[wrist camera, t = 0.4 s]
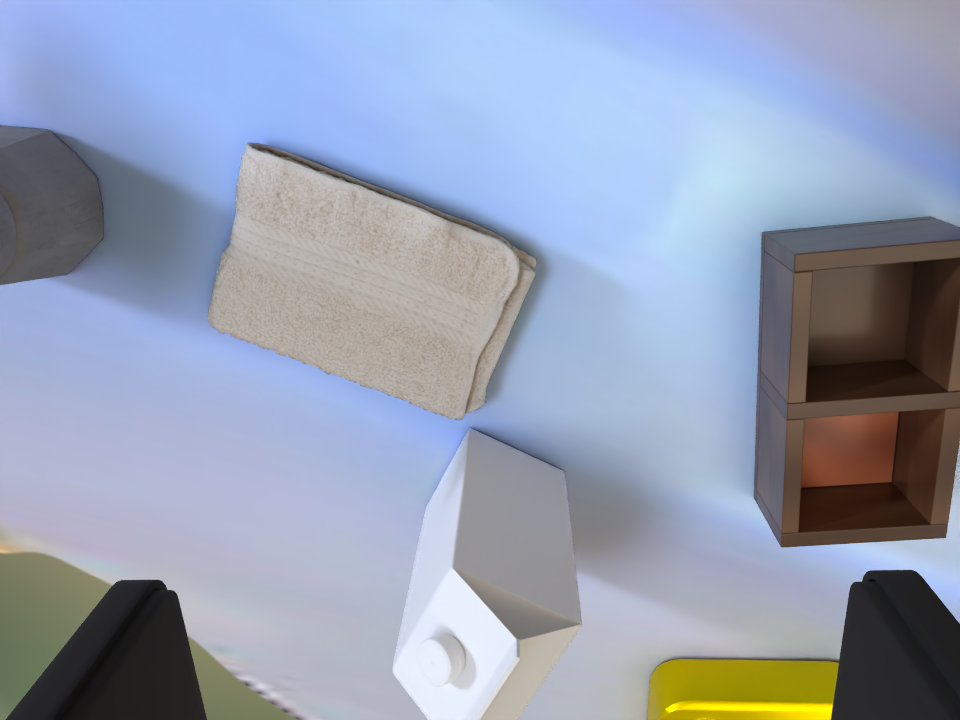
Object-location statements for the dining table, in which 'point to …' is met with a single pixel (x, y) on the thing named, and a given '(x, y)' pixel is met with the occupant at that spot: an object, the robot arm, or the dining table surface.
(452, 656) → the milk carton
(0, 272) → the coffeepot
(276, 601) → the dining table surface
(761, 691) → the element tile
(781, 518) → the brown wooden divided box
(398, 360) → the washcloth
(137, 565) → the dining table surface
